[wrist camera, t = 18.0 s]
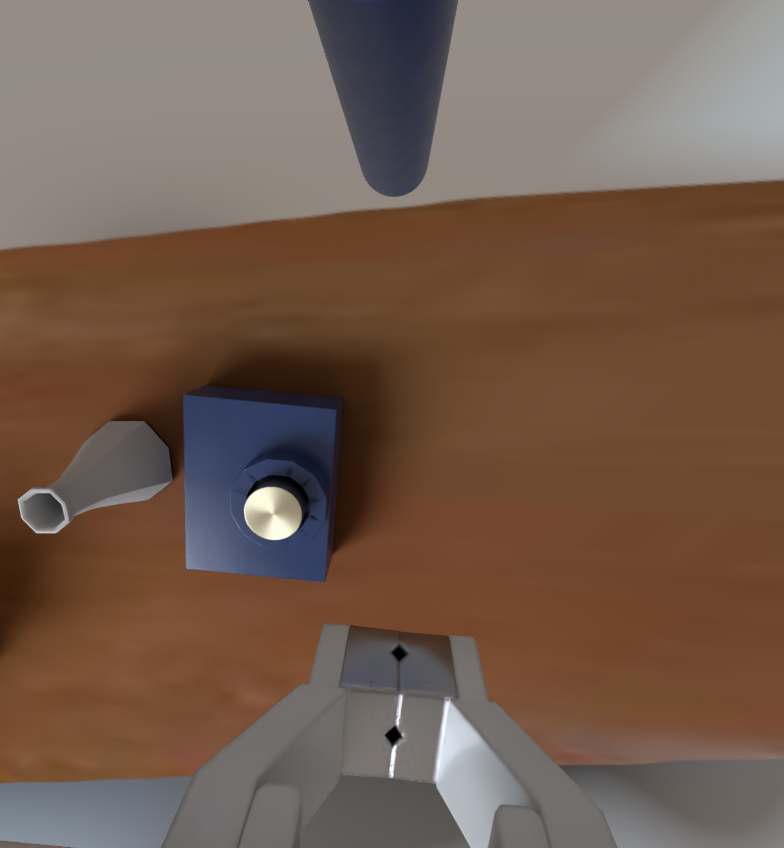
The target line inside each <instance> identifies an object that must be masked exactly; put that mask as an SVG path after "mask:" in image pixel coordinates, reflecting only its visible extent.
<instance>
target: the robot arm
mask: <svg viewBox="0 0 784 848" xmlns="http://www.w3.org/2000/svg"><path fill="white" fill-rule="evenodd" d="M341 775H353V776H370V777H385V778H394V779H402V780H410V781H418V782H425V783H433V784H437V785H436V787H437V789H438V791H439V792H440V794H441V796H442V797H443V799H444V801H445V803H446V805H447V806H448V808H449V810H450V811H451V813H452V815H453V817H454V818H455V820H456V822H457V824H458V825H459V827H460V829H461V831H462V833H463V834H464V836H465V838H466V840H467V841H468V843H469V845H470V847H471V848H617V846H616V843H615V841H614V839H613V836H612V833H611V831H610V828H609V826H608V823H607V821H606V818H605V816H604V813H603V811H602V810H601V809H600V808H599V807H598V806H597V805H596V804H595V803H594V802H593V801H592V800H591V799H590V798H589V797H588V796H587V795H586V794H585V793H584V792H583V791H582V790H581V789H580V788H579V787H578V786H577V785H576V783H575V782H574V781H573V780H572V779H571V778H570V777H569V776H568V775H567V774H566V773H565V772H564V771H563V770H562V769H561V768H560V767H559V766H558V765H557V764H556V763H555V762H554V761H553V760H552V759H551V758H550V757H549V756H548V755H547V754H546V753H545V752H544V751H543V750H542V748H541V747H540V746H539V745H538V744H537V743H536V742H535V741H534V740H533V739H532V738H531V737H530V736H529V735H528V734H527V733H526V732H525V731H524V730H523V729H522V728H521V727H520V726H519V725H518V724H517V723H516V722H515V721H514V720H513V719H512V718H511V717H510V716H509V715H508V714H507V712H506V711H505V710H504V709H503V708H502V707H501V706H500V705H499V704H498V703H496V702H489V699H488V695H487V690H486V685H485V681H484V676H483V672H482V667H481V663H480V658H479V654H478V649H477V645H476V640H475V639H474V638H473V637H471V636H456V635H448V636H444V635H433V634H422V633H411V632H400V631H394V630H386V629H378V628H369V627H361V626H353V625H350V626H349V625H342V624H332V623H325V624H324V626H323V627H322V631H321V635H320V639H319V643H318V647H317V651H316V655H315V659H314V663H313V667H312V671H311V675H310V679H309V683H308V684H300V685H298V686H297V687H296V688H295V689H294V690H293V691H291V692H290V693H289V694H288V695H287V696H285V697H284V698H283V699H282V700H281V701H279V702H278V703H277V704H276V705H275V706H273V707H272V708H271V709H270V710H269V711H267V712H266V713H265V714H264V715H263V716H261V717H260V718H259V719H258V720H257V721H255V722H254V723H253V724H252V725H251V726H249V727H248V728H247V729H246V730H245V731H243V732H242V733H241V734H240V735H239V736H237V737H236V738H235V739H234V740H233V741H231V742H230V743H229V744H228V745H227V746H225V747H224V748H223V749H222V750H221V751H219V752H218V753H217V754H216V755H215V756H213V757H212V758H211V759H210V760H209V761H207V762H206V763H205V764H204V765H203V766H201V767H200V768H199V769H198V770H197V771H195V773H194V775H193V777H192V780H191V782H190V784H189V786H188V789H187V791H186V793H185V795H184V797H183V800H182V802H181V804H180V807H179V809H178V811H177V813H176V815H175V818H174V820H173V822H172V825H171V826H170V829H169V831H168V833H167V835H166V838H165V840H164V842H163V844H162V847H161V848H300V834H301V832H302V830H303V829H304V828H305V827H306V825H307V824H308V822H309V821H310V820H311V818H312V817H313V815H314V814H315V813H316V811H317V810H318V808H319V807H320V806H321V804H322V803H323V802H324V800H325V799H326V798H327V796H328V795H329V793H330V792H331V791H332V789H333V788H334V786H335V785H336V784H337V782H338V781H339V780H340V778H341ZM0 848H71V847H61V846H49V845H40V844H29V843H19V842H8V841H0Z"/></svg>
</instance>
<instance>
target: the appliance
mask: <svg viewBox="0 0 784 848" xmlns="http://www.w3.org/2000/svg"><path fill="white" fill-rule="evenodd" d="M343 401H344V398H338V397H327V396H317V395H307V394H297V393H286V392H276V391H266V390H256V389H245V388H235V387H225V386H215V385H205V386H203V387H200V388H198V389H196V390H193V391H191V392H188V393H186V394H184V395H183V411H184V475H185V539H186V569H195V570H205V571H216V572H226V573H236V574H247V575H257V576H267V577H278V578H288V579H298V580H309V581H319V582H325V580H326V577H327V573H328V569H329V566H330V562H331V559H332V555H333V542H334V528H335V514H336V500H337V485H338V471H339V457H340V443H341V429H342V415H343ZM270 478H285V479H288V480H290V481H292V482H294V483H295V484H297V485H298V486H299V487H300V488H301V490H302V491H303V493H304V495H305V497H306V501H307V509H306V513H305V515H304V517H303V520H302V522H301V524H300V526H299V528H298V529H297V530H296V532H295V533H293V534H292V535H291V536H289V537H287V538H284V539H281V540H270V539H265V538H263V537H261V536H259V535H257V534H256V533H254V532H253V531H252V530H251V528H250V527H249V526H248V524H247V522H246V519H245V515H244V507H245V503H246V501H247V499H248V497H249V496H250V495H251V493H252V492H253V491H254V490H255V488H256V487H257V486H258V485H259V484H260V483H261V482H263V481H265V480H267V479H270Z"/></svg>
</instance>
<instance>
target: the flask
mask: <svg viewBox="0 0 784 848" xmlns="http://www.w3.org/2000/svg"><path fill="white" fill-rule="evenodd" d="M172 481H173V479H172V471H171V463H170V456H169V448H168V447H167V446H166V445H165V444H164V443H163V441H162V440H161V439H160V438H159V437H158V436H157V435H156V434H155V433H154V432H153V430H152V429H151V428H150V427H149V426H148V425H147V424H146V423H145V422H144V421H109V422H108V423H106V424H105V425H104V426H103V427H102V428H100V429H99V430H98V431H97V432H96V433H94V434H93V435H92V436H91V437H90V438H89V439H87V440H86V441H85V442H84V444H83V445H82V446H81V448H80V449H79V451H78V453H77V454H76V456H75V457H74V459H73V461H72V462H71V463H70V465H69V466H68V467H67V469H66V470H65V471H64V473H63V474H62V475H61V477H60V478H59V479H58V480H57V481H55V482H53V483H51V484H49V485H48V486H46V487H33V488H32V489H30V490H29V491H28V492H27V493H25V494H24V495H23V496H22V497H21V498H19V499H18V504H19V509H20V513H21V518H22V519H23V520H24V521H25V522H26V523H27V524H28V525H29V526H30V527H31V528H32V529H33V530H34V531H35V532H36V533H57V532H59V531H60V530H61V529H62V528H64V527H65V526H66V525H67V524H69V523H70V522H71V521H72V520H73V519H74V516H75V515H78V514H80V513H83V512H86V511H88V510H91V509H94V508H99V507H104V506H110V505H116V504H122V503H130V502H138V501H144V500H149V499H150V498H151V497H153V496H154V495H155V494H157V493H158V492H159V491H160V490H162V489H163V488H164V487H166V486H167V485H168V484H169V483H171V482H172Z"/></svg>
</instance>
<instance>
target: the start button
mask: <svg viewBox="0 0 784 848" xmlns="http://www.w3.org/2000/svg"><path fill="white" fill-rule="evenodd" d="M306 509H307V501H306V497H305V495H304V493H303V491H302V490H301V488H300V487H299V486H298V485H297V484H295V483H294V482H292V481H290V480H288V479H285V478H270V479H267V480H265V481H263V482H261V483H260V484H259V485H258V486H257V487H256V488H255V490H254V491H253V492H252V493H251V495H250V496H249V497H248V499H247V501H246V503H245V507H244V515H245V519H246V522H247V524H248V526H249V527H250V528H251V530H252V531H253V532H254V533H256V534H257V535H259V536H261V537H263V538H265V539H270V540H281V539H284V538H287V537H289V536H291V535H292V534H293V533H295V532H296V530H297V529H298V528H299V526H300V524H301V522H302V520H303V517H304V515H305V513H306Z"/></svg>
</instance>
